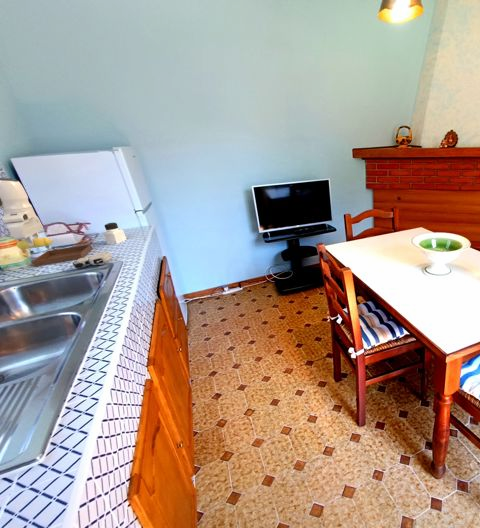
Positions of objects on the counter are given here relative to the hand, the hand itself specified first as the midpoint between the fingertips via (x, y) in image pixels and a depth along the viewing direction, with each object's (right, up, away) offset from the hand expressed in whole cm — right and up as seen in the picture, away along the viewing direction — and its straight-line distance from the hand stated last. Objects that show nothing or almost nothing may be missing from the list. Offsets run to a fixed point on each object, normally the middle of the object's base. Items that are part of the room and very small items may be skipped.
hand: (34, 244), depth 139 cm
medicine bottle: (+5, +4, +43) cm, 43 cm away
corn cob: (0, -1, +1) cm, 2 cm away
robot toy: (+22, -10, +7) cm, 25 cm away
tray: (-5, -6, +21) cm, 22 cm away
